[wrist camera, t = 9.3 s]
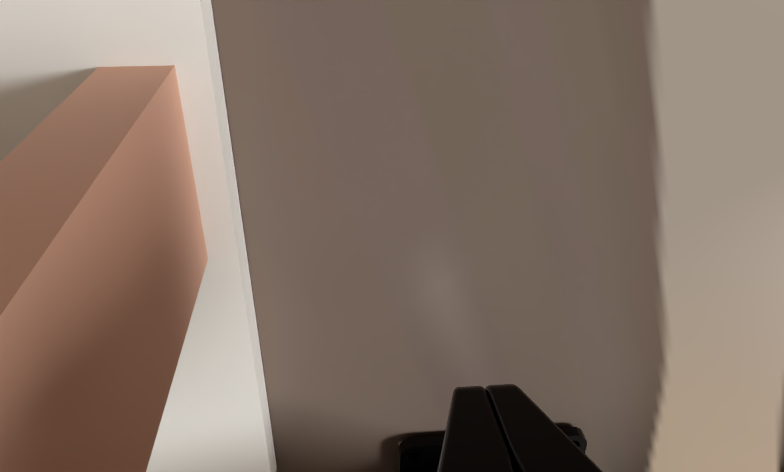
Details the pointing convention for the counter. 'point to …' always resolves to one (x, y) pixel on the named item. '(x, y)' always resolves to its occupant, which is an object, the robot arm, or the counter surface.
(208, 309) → the domino mat
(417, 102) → the counter surface
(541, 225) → the counter surface
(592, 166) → the counter surface
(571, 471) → the robot arm
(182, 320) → the domino
